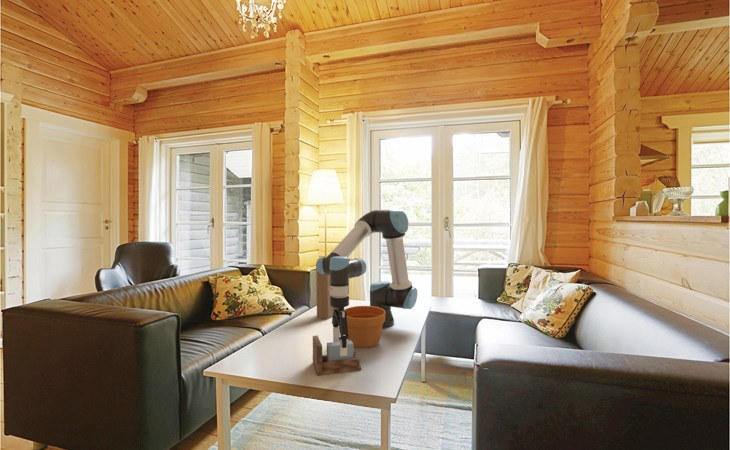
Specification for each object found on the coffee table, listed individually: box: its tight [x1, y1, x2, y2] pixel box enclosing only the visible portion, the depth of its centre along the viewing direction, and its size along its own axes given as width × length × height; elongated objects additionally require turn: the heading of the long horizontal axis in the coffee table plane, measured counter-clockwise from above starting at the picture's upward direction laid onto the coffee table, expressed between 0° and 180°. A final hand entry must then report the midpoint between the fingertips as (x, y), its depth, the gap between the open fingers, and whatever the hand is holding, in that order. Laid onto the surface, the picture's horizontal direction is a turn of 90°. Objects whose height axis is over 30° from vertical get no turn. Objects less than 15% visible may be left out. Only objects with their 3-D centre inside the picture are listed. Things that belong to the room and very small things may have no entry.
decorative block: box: [315, 268, 333, 320], centre depth 206 cm, size 15×8×30 cm, turn 157°
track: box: [312, 335, 362, 377], centre depth 134 cm, size 17×12×11 cm
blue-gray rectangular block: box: [326, 340, 354, 362], centre depth 135 cm, size 10×4×8 cm, turn 105°
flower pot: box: [344, 305, 386, 349], centre depth 160 cm, size 21×21×15 cm
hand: (339, 349), depth 135 cm, fingers open, 13 cm apart
